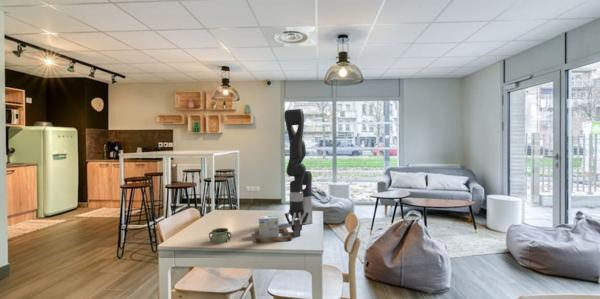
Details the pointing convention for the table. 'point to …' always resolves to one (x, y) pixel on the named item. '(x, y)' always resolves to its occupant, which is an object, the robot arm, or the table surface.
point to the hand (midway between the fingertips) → (296, 230)
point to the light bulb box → (268, 226)
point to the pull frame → (281, 238)
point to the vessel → (220, 235)
